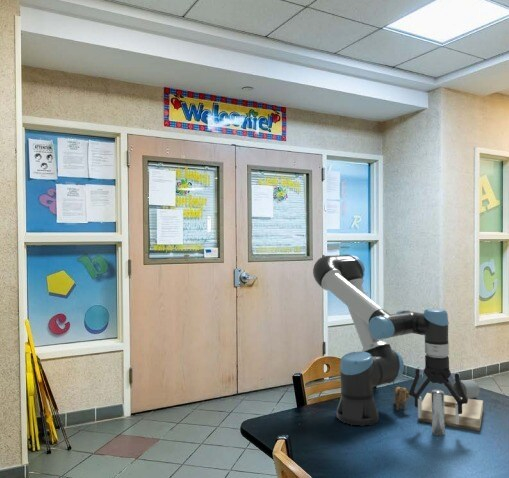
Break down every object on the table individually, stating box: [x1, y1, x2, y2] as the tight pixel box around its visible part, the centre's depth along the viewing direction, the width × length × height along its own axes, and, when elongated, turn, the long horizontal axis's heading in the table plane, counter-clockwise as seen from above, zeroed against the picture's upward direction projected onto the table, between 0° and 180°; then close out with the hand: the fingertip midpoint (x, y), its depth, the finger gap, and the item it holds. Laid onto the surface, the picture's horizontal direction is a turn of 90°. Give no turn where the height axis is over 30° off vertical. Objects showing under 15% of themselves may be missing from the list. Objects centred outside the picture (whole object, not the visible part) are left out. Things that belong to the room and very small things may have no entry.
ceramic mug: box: [452, 379, 481, 399], centre depth 186 cm, size 11×8×8 cm
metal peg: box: [430, 389, 446, 437], centre depth 152 cm, size 4×4×14 cm
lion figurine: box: [393, 386, 412, 411], centre depth 178 cm, size 15×5×9 cm, turn 178°
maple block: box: [417, 392, 484, 432], centre depth 167 cm, size 20×20×4 cm
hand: (438, 419), depth 152 cm, fingers open, 11 cm apart
